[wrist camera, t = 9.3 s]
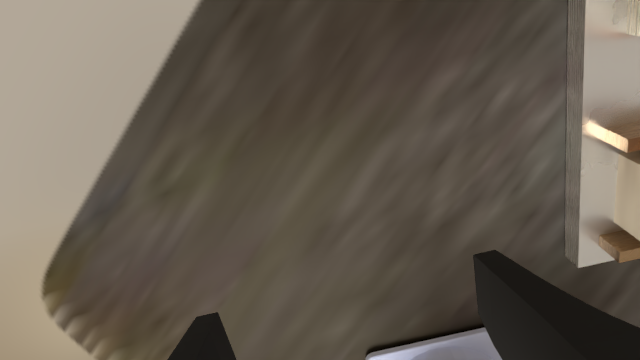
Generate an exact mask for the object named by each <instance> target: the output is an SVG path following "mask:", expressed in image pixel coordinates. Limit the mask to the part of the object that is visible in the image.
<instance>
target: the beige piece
mask: <svg viewBox="0 0 640 360" xmlns="http://www.w3.org/2000/svg"><path fill="white" fill-rule="evenodd" d="M638 150H640V0H568V38H567V114H566V191H565V256H566V257H567V258H568V259H569V260H570V261H571V262H572V263H573V264H574V265H575V266H576V267H577V268H581V267H586V266H590V265H594V264H599V263H603V262H608V261H612V260H616V261H617V262H619V263H621V262H626V261H630V260H635V259H639V258H640V241H639V240H638V239H636V238H635V237H634V236H632V235H631V234H630V233H628V232H627V231H626V230H624V229H623V228H621V227H620V226H619V225H617V224H616V223H615V222H614V213H615V199H616V185H617V170H618V156H619V154H621V153H625V152H626V153H629V152H633V151H638Z"/></svg>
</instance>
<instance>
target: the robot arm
mask: <svg viewBox="0 0 640 360" xmlns="http://www.w3.org/2000/svg"><path fill="white" fill-rule="evenodd" d="M473 258H474V270H475V281H476V293H477V304H478V313H479V315H480V318H481V320H482V322H483V324H484V326H485V327H484V328H480V329H475V330H471V331H466V332H462V333H457V334H453V335H448V336H444V337H439V338H435V339H430V340H426V341H421V342H417V343H412V344H407V345H403V346H398V347H394V348H389V349H385V350H380V351H376V352H372V353H370V354H368V355H367V357H366V360H640V328H638V327H636V326H634V325H632V324H629V323H627V322H625V321H622V320H620V319H618V318H615V317H613V316H611V315H609V314H607V313H605V312H602V311H600V310H598V309H596V308H594V307H592V306H590V305H588V304H586V303H585V302H583V301H581V300H579V299H577V298H575V297H573V296H571V295H569V294H567V293H566V292H564V291H562V290H560V289H558V288H557V287H555V286H553V285H551V284H550V283H548V282H546V281H545V280H543V279H541V278H540V277H538V276H536V275H535V274H533V273H531V272H530V271H528V270H527V269H525V268H523V267H522V266H520V265H519V264H517V263H515V262H514V261H512V260H511V259H509V258H507V257H506V256H504V255H503V254H501V253H499V252H498V251H496V250H493V251H488V252H484V253H479V254H475V255H473ZM168 360H236V358H235V355H234V352H233V350H232V347H231V345H230V342H229V340H228V337H227V335H226V332H225V329H224V327H223V324H222V322H221V319H220V317H219V314H218V312H216V313H212V314H207V315H203V316H199V317H196V318H195V320H194V321H193V323H192V324H191V326H190V327H189V329H188V330H187V331H186V333H185V334H184V336H183V337H182V339H181V340H180V342H179V343H178V345H177V346H176V348H175V349H174V351H173V352H172V354H171V355H170V357H169V358H168Z"/></svg>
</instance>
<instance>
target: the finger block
mask: <svg viewBox="0 0 640 360" xmlns="http://www.w3.org/2000/svg"><path fill="white" fill-rule="evenodd" d="M614 222H615V223H616V224H617V225H619V226H620V227H621V228H623V229H624V230H626V231H627V232H628V233H630V234H631V235H632V236H634V237H635V238H636V239H638V240H639V241H640V150H638V151H633V152H629V153H626V152H625V153H621V154H619V156H618V170H617V185H616V199H615V213H614Z"/></svg>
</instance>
